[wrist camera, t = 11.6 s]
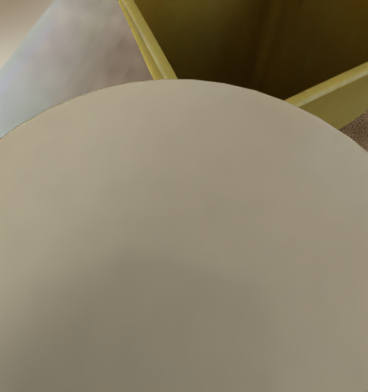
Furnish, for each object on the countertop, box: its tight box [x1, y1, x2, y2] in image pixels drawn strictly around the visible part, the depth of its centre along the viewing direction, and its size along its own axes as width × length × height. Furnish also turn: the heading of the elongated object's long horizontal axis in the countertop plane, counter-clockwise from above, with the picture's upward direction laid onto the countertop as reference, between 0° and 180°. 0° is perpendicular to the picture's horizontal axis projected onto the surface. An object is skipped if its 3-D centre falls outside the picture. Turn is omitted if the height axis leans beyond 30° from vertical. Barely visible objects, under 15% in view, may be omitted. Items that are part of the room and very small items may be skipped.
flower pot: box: [118, 0, 368, 130], centre depth 13 cm, size 9×9×9 cm
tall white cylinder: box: [0, 79, 368, 392], centre depth 9 cm, size 6×6×13 cm
